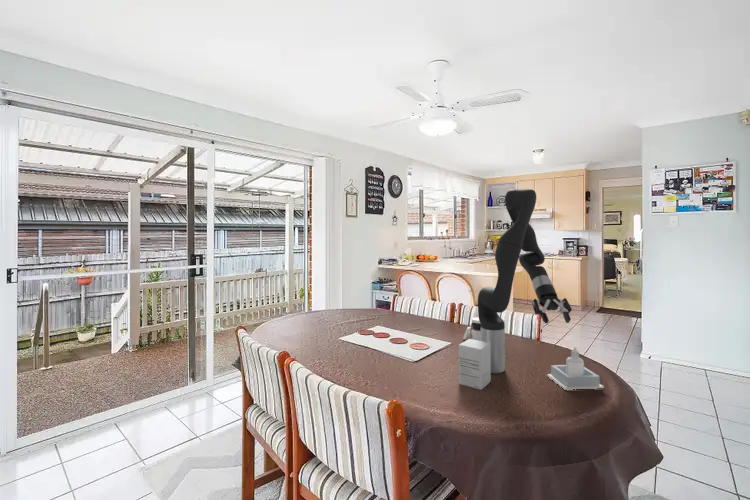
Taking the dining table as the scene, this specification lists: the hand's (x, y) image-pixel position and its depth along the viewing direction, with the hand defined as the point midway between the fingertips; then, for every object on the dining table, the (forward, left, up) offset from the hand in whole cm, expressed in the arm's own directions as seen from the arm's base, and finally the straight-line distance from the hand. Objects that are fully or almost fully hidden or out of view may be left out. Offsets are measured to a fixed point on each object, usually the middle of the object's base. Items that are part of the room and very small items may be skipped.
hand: (557, 322), depth 145 cm
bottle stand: (0, -12, -19) cm, 23 cm away
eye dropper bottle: (0, -11, -19) cm, 22 cm away
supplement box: (-36, -9, -20) cm, 42 cm away
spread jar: (-21, +39, -20) cm, 49 cm away
